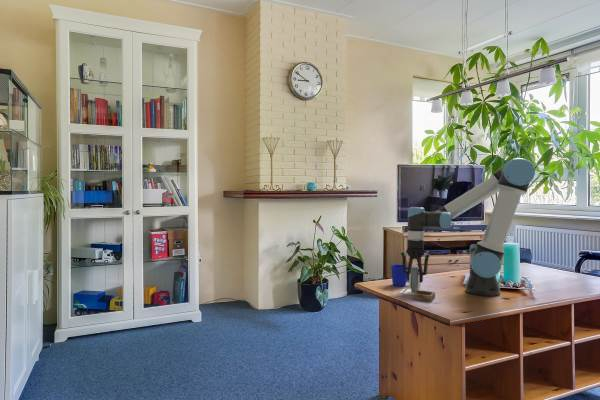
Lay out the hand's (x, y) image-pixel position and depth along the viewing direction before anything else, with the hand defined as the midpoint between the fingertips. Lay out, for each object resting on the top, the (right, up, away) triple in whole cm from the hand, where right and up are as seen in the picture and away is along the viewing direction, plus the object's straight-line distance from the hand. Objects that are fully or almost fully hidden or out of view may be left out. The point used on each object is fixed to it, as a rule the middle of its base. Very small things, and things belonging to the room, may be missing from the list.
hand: (414, 288), depth 189 cm
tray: (+1, -2, -10) cm, 11 cm away
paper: (+1, -2, 0) cm, 2 cm away
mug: (-2, -2, +15) cm, 16 cm away
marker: (0, -2, 0) cm, 2 cm away
